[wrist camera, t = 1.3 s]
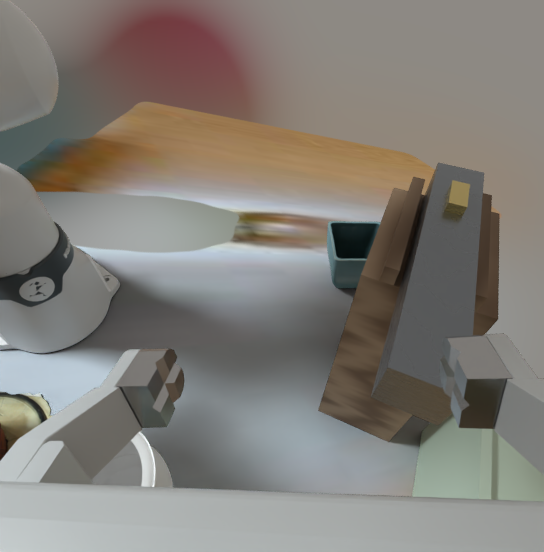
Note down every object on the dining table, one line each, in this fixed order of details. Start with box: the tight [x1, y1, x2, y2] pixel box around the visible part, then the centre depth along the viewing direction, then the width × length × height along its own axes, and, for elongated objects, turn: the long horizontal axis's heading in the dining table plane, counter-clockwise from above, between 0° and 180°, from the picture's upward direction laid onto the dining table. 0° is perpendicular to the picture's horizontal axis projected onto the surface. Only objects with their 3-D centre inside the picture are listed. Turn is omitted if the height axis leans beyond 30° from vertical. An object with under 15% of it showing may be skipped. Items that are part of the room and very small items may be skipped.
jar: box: [92, 432, 173, 488], centre depth 30 cm, size 11×10×15 cm
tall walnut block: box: [318, 177, 499, 442], centre depth 36 cm, size 9×12×28 cm
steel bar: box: [371, 163, 484, 425], centre depth 23 cm, size 20×4×4 cm, turn 156°
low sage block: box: [412, 413, 544, 501], centre depth 32 cm, size 8×12×16 cm, turn 156°
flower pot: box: [327, 221, 381, 288], centre depth 56 cm, size 9×9×9 cm
